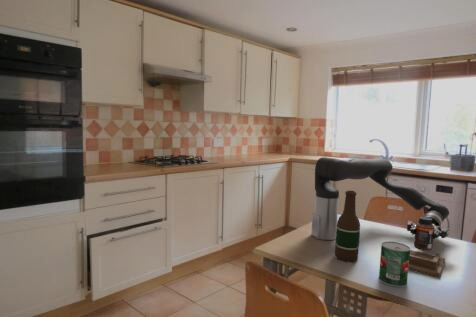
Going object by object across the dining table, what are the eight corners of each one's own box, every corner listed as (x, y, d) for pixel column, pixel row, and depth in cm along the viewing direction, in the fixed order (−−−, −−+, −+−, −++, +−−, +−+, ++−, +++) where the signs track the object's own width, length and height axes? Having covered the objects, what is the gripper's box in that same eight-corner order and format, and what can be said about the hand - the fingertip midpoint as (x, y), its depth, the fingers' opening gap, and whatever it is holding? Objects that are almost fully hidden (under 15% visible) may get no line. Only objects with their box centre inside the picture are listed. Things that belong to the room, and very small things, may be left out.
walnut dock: (439, 277, 104) (440, 265, 103) (391, 265, 112) (392, 253, 112) (444, 262, 116) (445, 251, 116) (401, 251, 125) (402, 241, 124)
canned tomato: (374, 274, 105) (377, 240, 104) (399, 275, 104) (402, 241, 103) (384, 286, 97) (388, 250, 96) (412, 287, 97) (415, 251, 95)
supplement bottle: (435, 252, 117) (438, 221, 116) (416, 250, 118) (419, 219, 117) (428, 246, 123) (431, 216, 121) (411, 244, 124) (414, 215, 123)
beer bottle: (357, 255, 119) (362, 190, 117) (357, 264, 112) (363, 194, 110) (335, 252, 122) (339, 188, 119) (334, 260, 115) (338, 192, 112)
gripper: (410, 211, 135) (402, 219, 122) (452, 218, 126) (448, 228, 113) (409, 228, 136) (400, 239, 122) (450, 237, 127) (446, 249, 114)
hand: (423, 234), depth 118 cm, fingers closed on supplement bottle, 6 cm apart
